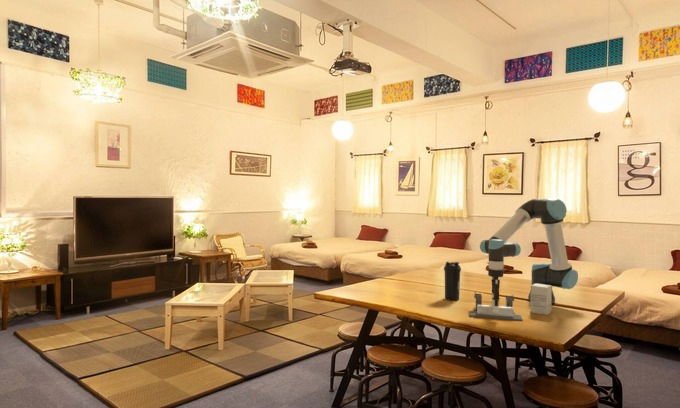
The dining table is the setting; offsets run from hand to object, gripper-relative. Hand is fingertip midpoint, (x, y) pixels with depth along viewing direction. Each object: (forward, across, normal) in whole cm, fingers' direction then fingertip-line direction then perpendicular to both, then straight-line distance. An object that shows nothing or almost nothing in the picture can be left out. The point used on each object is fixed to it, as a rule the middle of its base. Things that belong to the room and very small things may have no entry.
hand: (495, 309), depth 233 cm
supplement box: (+4, -18, +25) cm, 31 cm away
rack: (+4, -12, 0) cm, 13 cm away
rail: (+3, 0, 0) cm, 3 cm away
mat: (+4, 0, 0) cm, 4 cm away
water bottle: (+4, -35, -23) cm, 42 cm away
